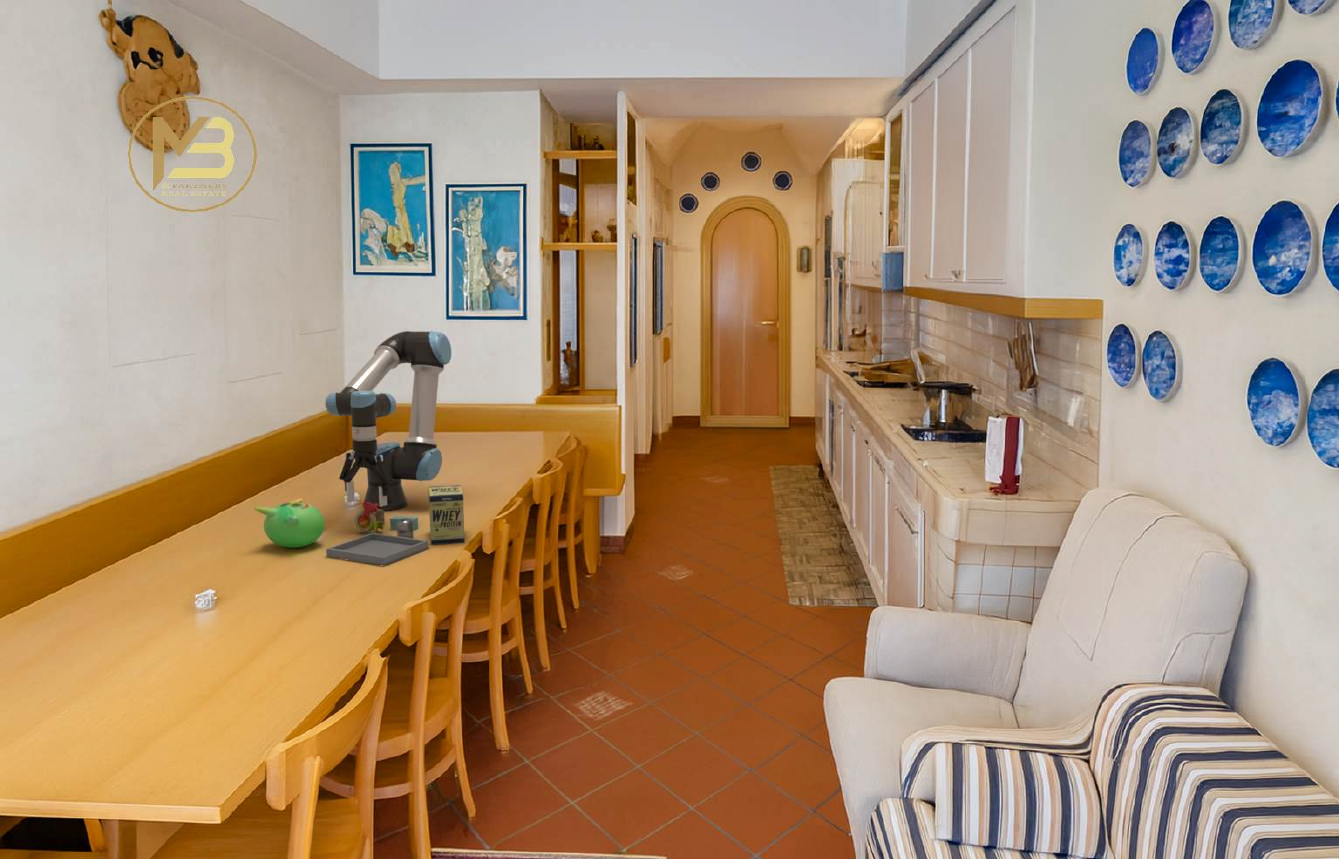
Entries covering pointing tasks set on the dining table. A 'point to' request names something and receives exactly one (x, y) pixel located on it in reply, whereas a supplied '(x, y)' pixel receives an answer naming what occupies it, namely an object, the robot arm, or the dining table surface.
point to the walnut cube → (378, 516)
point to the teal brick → (394, 520)
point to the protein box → (446, 514)
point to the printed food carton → (364, 521)
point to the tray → (377, 549)
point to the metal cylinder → (405, 528)
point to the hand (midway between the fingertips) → (366, 503)
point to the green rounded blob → (292, 523)
